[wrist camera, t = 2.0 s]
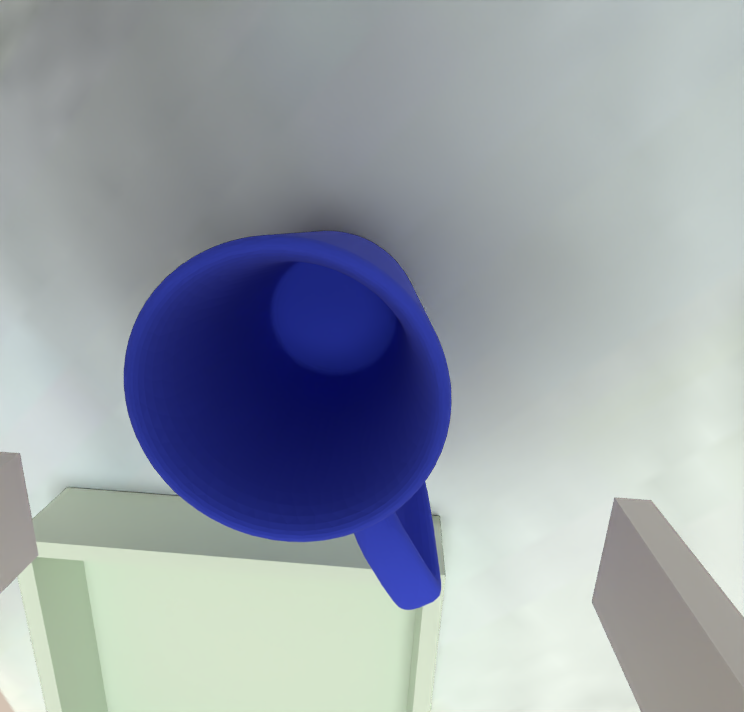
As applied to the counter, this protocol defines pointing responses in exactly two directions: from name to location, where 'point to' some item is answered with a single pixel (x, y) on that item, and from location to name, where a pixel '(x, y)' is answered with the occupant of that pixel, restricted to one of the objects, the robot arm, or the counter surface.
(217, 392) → the mug
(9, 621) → the counter surface
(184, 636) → the tray
